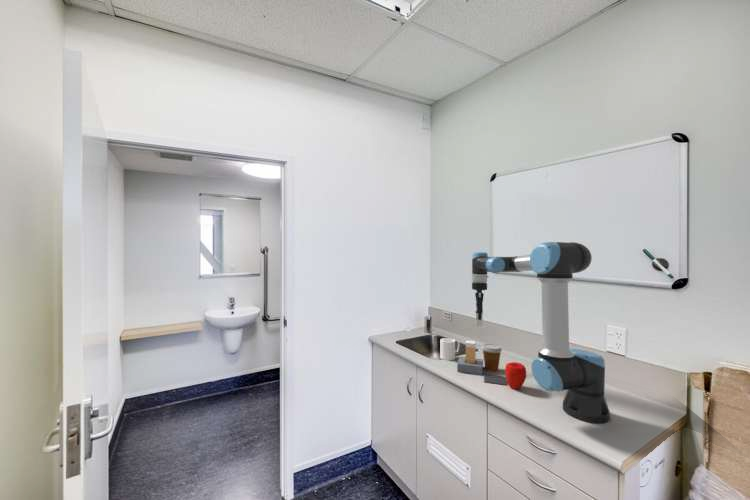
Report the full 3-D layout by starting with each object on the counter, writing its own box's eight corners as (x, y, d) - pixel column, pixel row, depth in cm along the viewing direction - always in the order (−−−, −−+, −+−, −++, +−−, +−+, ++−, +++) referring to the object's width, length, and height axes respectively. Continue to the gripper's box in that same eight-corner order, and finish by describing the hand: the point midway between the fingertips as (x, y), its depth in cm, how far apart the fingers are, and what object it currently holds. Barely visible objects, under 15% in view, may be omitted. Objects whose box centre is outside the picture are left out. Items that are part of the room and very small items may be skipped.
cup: (463, 358, 184) (463, 340, 184) (445, 360, 180) (445, 342, 180) (455, 354, 192) (455, 337, 192) (437, 356, 188) (437, 338, 188)
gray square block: (482, 375, 160) (482, 366, 160) (457, 371, 164) (457, 363, 164) (483, 366, 171) (483, 359, 171) (459, 363, 175) (459, 356, 175)
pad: (507, 385, 148) (507, 384, 148) (483, 382, 151) (483, 381, 151) (506, 377, 157) (506, 376, 157) (484, 374, 160) (484, 373, 160)
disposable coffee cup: (481, 371, 164) (482, 347, 164) (481, 365, 173) (482, 342, 173) (501, 374, 161) (502, 349, 161) (500, 367, 170) (501, 344, 170)
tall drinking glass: (474, 371, 165) (475, 343, 165) (465, 370, 166) (465, 342, 166) (475, 368, 169) (475, 341, 169) (466, 367, 171) (466, 340, 170)
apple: (524, 393, 140) (524, 368, 140) (503, 388, 144) (503, 364, 144) (527, 386, 147) (527, 362, 147) (507, 381, 152) (507, 358, 152)
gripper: (488, 285, 155) (488, 329, 156) (485, 279, 179) (485, 318, 180) (472, 284, 157) (471, 328, 158) (471, 279, 181) (471, 317, 182)
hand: (479, 322), depth 169 cm, fingers open, 13 cm apart
